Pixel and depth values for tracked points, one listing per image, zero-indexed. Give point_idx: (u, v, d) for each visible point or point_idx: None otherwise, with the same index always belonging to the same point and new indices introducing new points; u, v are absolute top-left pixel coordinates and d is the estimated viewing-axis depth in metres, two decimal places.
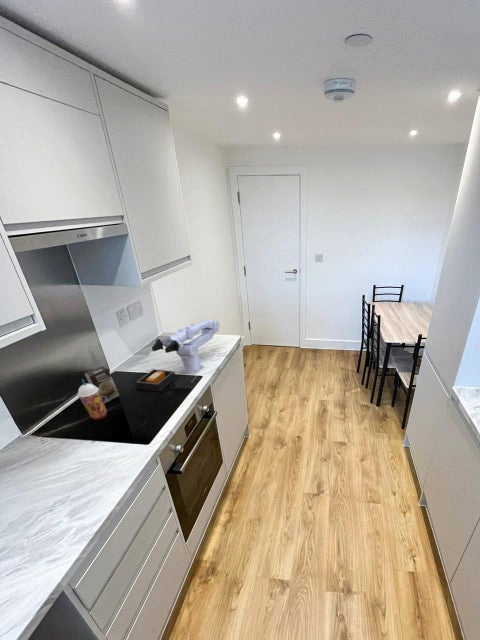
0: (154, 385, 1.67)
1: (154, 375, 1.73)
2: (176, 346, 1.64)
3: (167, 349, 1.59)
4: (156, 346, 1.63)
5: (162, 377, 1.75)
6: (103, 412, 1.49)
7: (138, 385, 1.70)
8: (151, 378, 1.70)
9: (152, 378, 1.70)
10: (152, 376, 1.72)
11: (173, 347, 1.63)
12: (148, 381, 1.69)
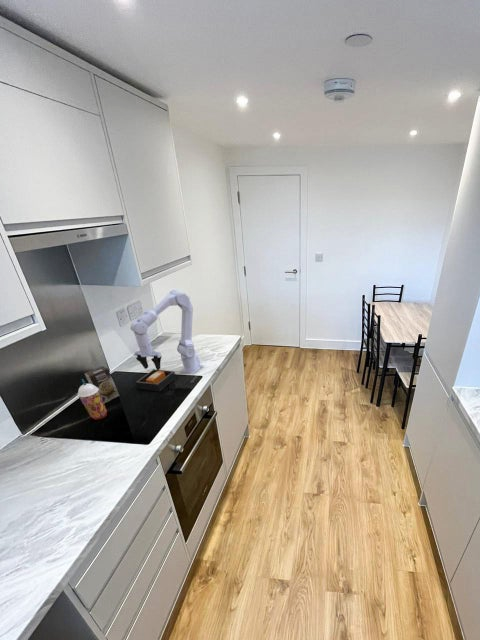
0: (154, 385, 1.67)
1: (154, 375, 1.73)
2: None
3: (158, 368, 1.69)
4: (144, 363, 1.70)
5: (162, 377, 1.75)
6: (103, 412, 1.49)
7: (138, 385, 1.70)
8: (151, 378, 1.70)
9: (152, 378, 1.70)
10: (152, 376, 1.72)
11: (157, 359, 1.67)
12: (148, 381, 1.69)
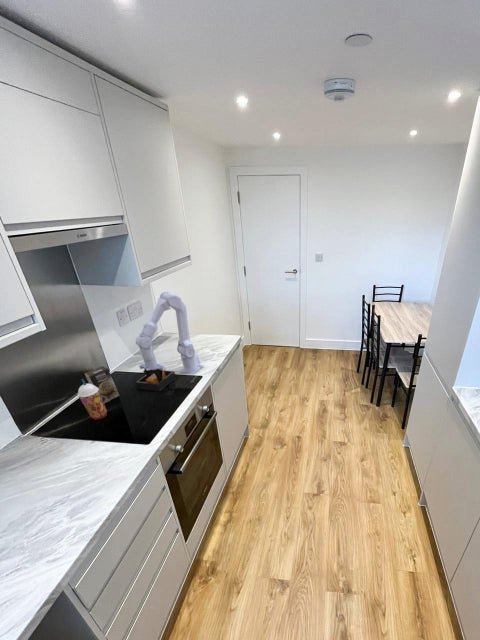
0: (154, 385, 1.67)
1: (154, 375, 1.73)
2: None
3: (160, 380, 1.73)
4: None
5: (162, 377, 1.75)
6: (103, 412, 1.49)
7: (138, 385, 1.70)
8: (151, 378, 1.70)
9: (152, 378, 1.70)
10: (152, 376, 1.72)
11: (159, 372, 1.71)
12: (148, 381, 1.69)
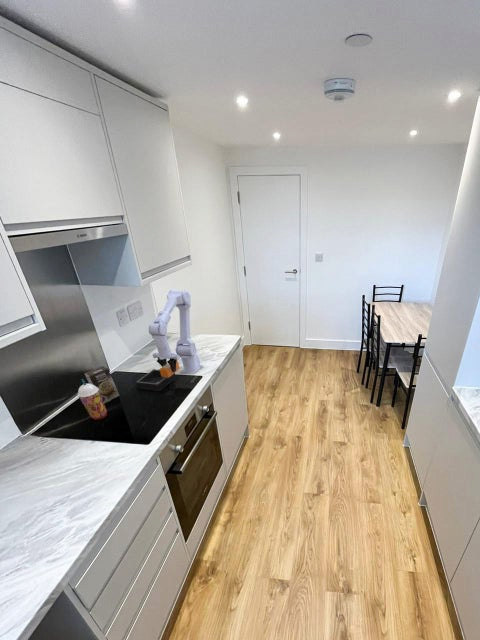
0: (154, 385, 1.67)
1: (168, 365, 1.66)
2: None
3: (174, 370, 1.66)
4: None
5: (176, 367, 1.69)
6: (103, 412, 1.49)
7: (138, 385, 1.70)
8: (165, 368, 1.63)
9: (166, 368, 1.63)
10: (166, 366, 1.65)
11: (173, 361, 1.64)
12: (162, 371, 1.63)
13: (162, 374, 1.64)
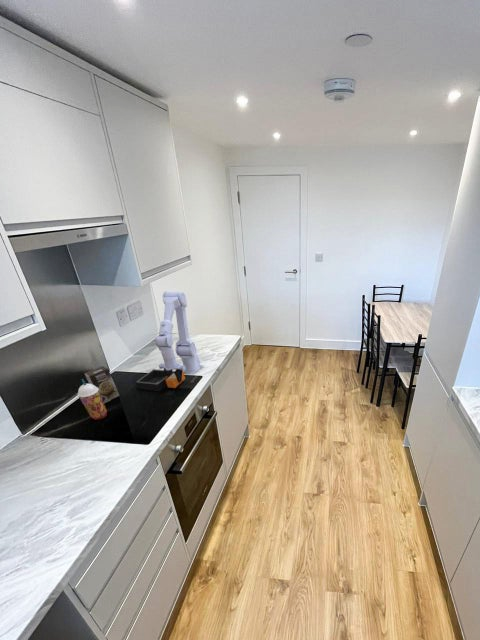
0: (154, 385, 1.67)
1: (173, 375, 1.69)
2: None
3: (180, 380, 1.69)
4: None
5: None
6: (103, 412, 1.49)
7: (138, 385, 1.70)
8: (171, 378, 1.66)
9: (172, 378, 1.66)
10: (172, 376, 1.68)
11: (178, 372, 1.67)
12: (168, 381, 1.65)
13: (168, 385, 1.67)
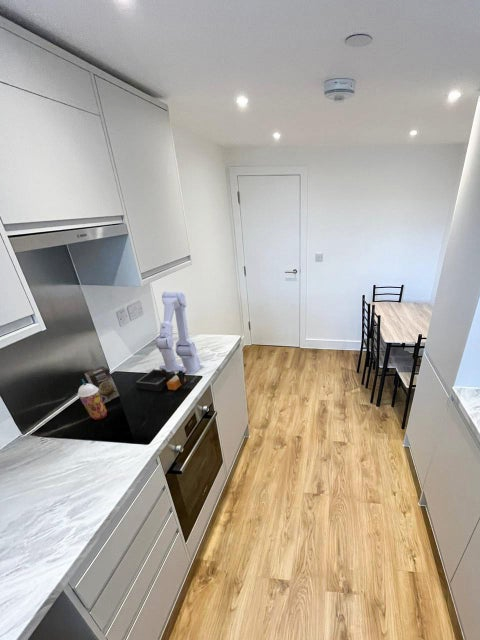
0: (154, 385, 1.67)
1: (174, 378, 1.70)
2: None
3: (182, 382, 1.69)
4: (168, 378, 1.70)
5: None
6: (103, 412, 1.49)
7: (138, 385, 1.70)
8: (172, 381, 1.67)
9: (173, 381, 1.67)
10: (172, 379, 1.69)
11: (181, 374, 1.67)
12: (169, 384, 1.66)
13: (169, 387, 1.68)
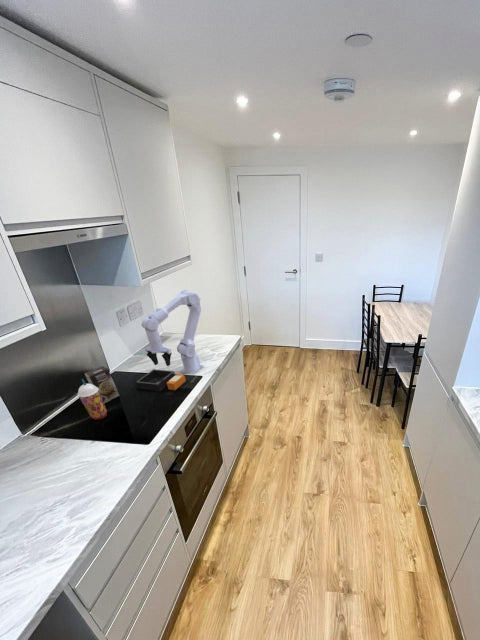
0: (154, 385, 1.67)
1: (174, 378, 1.70)
2: None
3: (168, 364, 1.71)
4: (154, 360, 1.72)
5: (182, 380, 1.72)
6: (103, 412, 1.49)
7: (138, 385, 1.70)
8: (172, 381, 1.67)
9: (173, 381, 1.67)
10: (172, 379, 1.69)
11: (167, 356, 1.69)
12: (169, 384, 1.66)
13: (169, 387, 1.68)
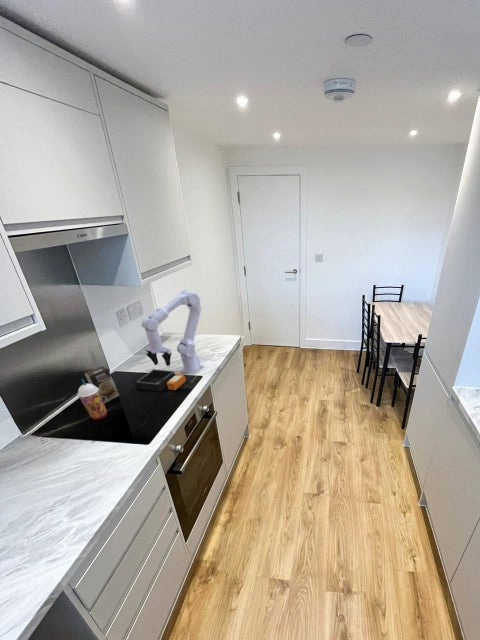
0: (154, 385, 1.67)
1: (174, 378, 1.70)
2: None
3: (168, 364, 1.71)
4: (154, 360, 1.72)
5: (182, 380, 1.72)
6: (103, 412, 1.49)
7: (138, 385, 1.70)
8: (172, 381, 1.67)
9: (173, 381, 1.67)
10: (172, 379, 1.69)
11: (167, 356, 1.69)
12: (169, 384, 1.66)
13: (169, 387, 1.68)
